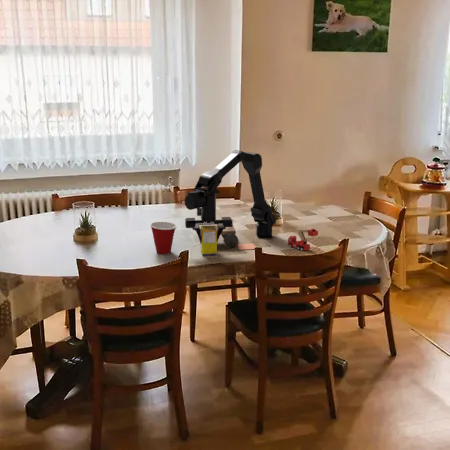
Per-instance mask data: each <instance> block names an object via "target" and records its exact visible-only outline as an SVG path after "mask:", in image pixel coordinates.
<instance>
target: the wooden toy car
mask: <svg viewBox="0 0 450 450" xmlns="http://www.w3.org/2000/svg"><path fill="white" fill-rule="evenodd" d="M201 226H215V227H216V229H217V224H214V225H201ZM200 232H201V227H200ZM236 234H237V233H236V228H235V227H234V225H233V227H226V229H223V231H222V233H221V234H220V236H221V237H222V238H223V243H224V245H225V246H226V247H227V248H229V249H233V248H236V247H238V246H237V245H238V244H239V238H238V236H237V235H236Z"/></svg>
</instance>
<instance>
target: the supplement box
mask: <svg viewBox="0 0 450 450" xmlns="http://www.w3.org/2000/svg"><path fill="white" fill-rule="evenodd" d="M200 228H201V240H202V243H200V252H201V255H202V256H203V257H204V256H205V257H206V256H217V254H218V245H217V244H218V242H217V229H216V227H215V226H202V225H200Z"/></svg>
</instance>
